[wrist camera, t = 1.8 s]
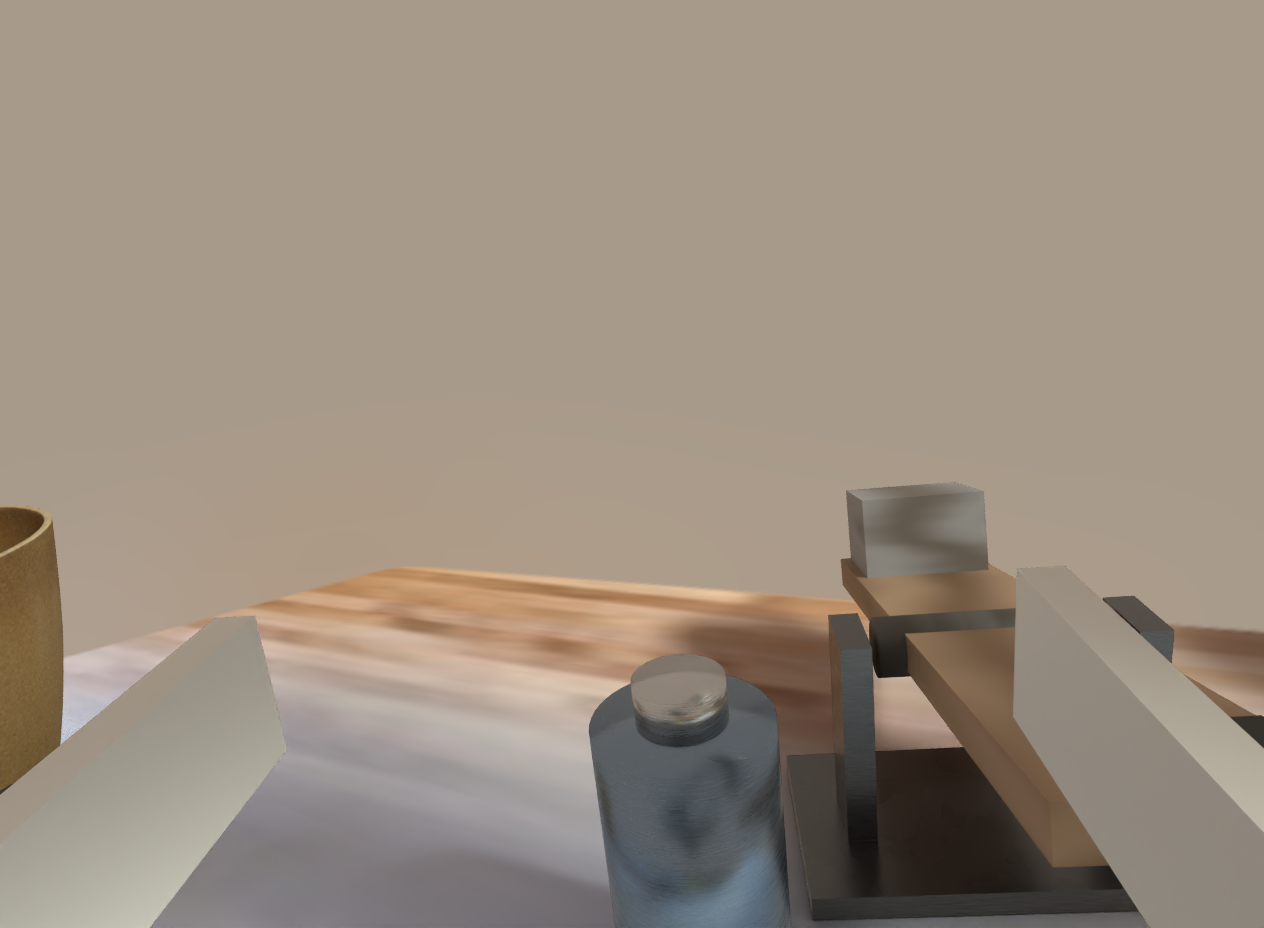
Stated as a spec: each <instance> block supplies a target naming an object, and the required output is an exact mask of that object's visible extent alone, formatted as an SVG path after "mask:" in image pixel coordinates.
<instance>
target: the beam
mask: <svg viewBox="0 0 1264 928" xmlns="http://www.w3.org/2000/svg"><path fill="white" fill-rule="evenodd" d="M846 495H847V509H848V522H849V537H850V551H851V558H849V559H841V568H842V580H843V586H844V587H845V588H846V590H847V591H848V592H849V594H850V595H851V596H852V598H853V599H854V601H855V602H856V603H857V605H858V606H859V607H860V609H861V610H862V611H863V613H864V614H865V615H866V617H867V618H868V619H869V621H870V623H869V639H870V644H871V647H872V661H873V666H874V670H875V673H876V675H877V677H878V678H887V677H905V676H911V677H912V678H913V680H914V681H915V683H916V684H917V685H918V687H919V688H920V689H921V691H922V692H923V693H924V695H925V696H926V697H927V699H928V700H929V701H930V703H931V704H932V705H933V707H934V708H935V709H936V711H937V712H938V713H939V715H940V716H941V717H942V719H943V720H944V721H945V723H946V724H947V726H948V727H949V728H950V730H951V731H952V732H953V734H954V735H955V736H956V738H957V739H958V740H959V742H960V743H961V744H962V746H963V747H964V748H965V750H966V751H967V752H968V754H969V755H970V756H971V758H972V759H973V760H974V762H975V763H976V765H977V766H978V767H979V769H980V770H981V771H982V773H983V774H984V775H985V777H986V778H987V779H988V781H989V782H990V783H991V785H992V786H993V787H994V789H995V790H996V791H997V793H998V794H999V795H1000V797H1001V798H1002V799H1003V801H1004V802H1005V803H1006V805H1007V806H1008V808H1009V809H1010V810H1011V812H1012V813H1013V814H1014V816H1015V817H1016V818H1017V820H1018V821H1019V822H1020V824H1021V825H1022V826H1023V828H1024V829H1025V830H1026V832H1027V833H1028V834H1029V836H1030V837H1031V838H1032V840H1033V841H1034V842H1035V844H1036V845H1037V847H1038V848H1039V849H1040V851H1041V852H1042V853H1043V855H1044V856H1045V857H1046V859H1047V860H1048V861H1049V863H1050V864H1051V865H1052V867H1082V866H1109V864H1108V862H1107V861H1106V859H1105V858H1104V856H1103V855H1102V853H1101V852H1100V850H1099V849H1098V847H1097V846H1096V844H1095V842H1094V841H1093V839H1092V838H1091V836H1090V835H1089V833H1088V832H1087V830H1086V829H1085V827H1084V825H1083V824H1082V822H1081V821H1080V819H1079V818H1078V816H1077V815H1076V813H1075V812H1074V810H1073V808H1072V807H1071V805H1070V804H1069V802H1068V801H1067V799H1066V798H1065V796H1064V795H1063V793H1062V791H1061V790H1060V788H1059V787H1058V785H1057V784H1056V782H1055V781H1054V779H1053V778H1052V776H1051V774H1050V773H1049V771H1048V770H1047V768H1046V767H1045V765H1044V764H1043V762H1042V761H1041V759H1040V758H1039V756H1038V754H1037V753H1036V751H1035V750H1034V748H1033V747H1032V745H1031V744H1030V742H1029V741H1028V739H1027V737H1026V736H1025V734H1024V733H1023V731H1022V730H1021V728H1020V727H1019V725H1018V724H1017V722H1016V720H1015V719H1014V717H1013V700H1014V659H1015V618H1016V579H1015V578H1013V577H1012V576H1010V575H1008V574H1006V573H1005V572H1003V571H1001V570H999V569H997V568H996V567H994V566H992V565H990V564H989V563H988V552H987V536H986V520H985V503H984V491H981V490H978V489H975V488H972V487H969V486H965V485H962V484H959V483H956V482H951V483H937V484H925V485H911V486H899V487H885V488H872V489H859V490H847V491H846ZM1106 604H1107V605H1109V604H1108V603H1106ZM1109 606H1110V605H1109ZM1110 607H1111V606H1110ZM1111 608H1112V607H1111ZM1112 609H1113V608H1112ZM1113 610H1114V609H1113ZM1114 611H1115V610H1114ZM1186 677H1187V676H1186ZM1187 678H1188V679H1189V680H1190V681H1191V682H1192V683H1193V684H1194V685H1195V686H1197V687H1198V688H1199V689H1200V690H1201V691H1202V692H1203V693H1204V694H1205V695H1206V696H1207V697H1208V698H1210V699H1211V700H1212V701H1213V702H1214V703H1215V704H1216V705H1217V706H1218V707H1219V708H1220V709H1222V710H1223V711H1224V712H1225V713H1226V714H1227V715H1228V716H1229V717H1237V716H1256V715H1254V714H1252V713H1250V712H1249V711H1247V710H1245V709H1243V708H1242V707H1240V706H1238V705H1236V704H1235V703H1233V702H1231V701H1229V700H1228V699H1226V698H1224V697H1222V696H1220V695H1219V694H1217V693H1215V692H1213V691H1212V690H1210V689H1208V688H1206V687H1205V686H1203V685H1201V684H1199V683H1198V682H1196V681H1194V680H1192V679H1191V678H1189V677H1187Z"/></svg>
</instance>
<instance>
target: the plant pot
mask: <svg viewBox="0 0 1264 928" xmlns="http://www.w3.org/2000/svg"><path fill="white" fill-rule="evenodd" d="M62 710H63V625H62V612H61V599H60V586H59V577H58V568H57V558H56V549H55V540H54V531H53V523H52V517H51V515H50V513H48V512H47V511H45V510H43V509H40V508H34V507H29V506H17V505H13V506H12V505H1V506H0V790H2V789H4V788H5V787H7V786H9V785H11V784H12V783H14V782H16V781H18V780H19V779H20V778H21V777H22V776H24V775H25V774H26V773H27V772H29V771H30V770H31V769H32V768H33V767H35V766H36V765H37V764H38V763H39V762H41V761H42V760H43V759H44V758H46V757H47V756H48V755H49V754H50V753H52V752H53V751H54V750H55V749H56V748H58V747H59V746H60V741H61V726H62Z"/></svg>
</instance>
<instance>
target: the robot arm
mask: <svg viewBox="0 0 1264 928" xmlns="http://www.w3.org/2000/svg"><path fill="white" fill-rule="evenodd" d="M1013 717H1014V719H1015V720H1016V722H1017V724H1018V725H1019V727H1020V728H1021V730H1022V731H1023V733H1024V734H1025V736H1026V737H1027V739H1028V741H1029V742H1030V744H1031V745H1032V747H1033V748H1034V750H1035V751H1036V753H1037V754H1038V756H1039V758H1040V759H1041V761H1042V762H1043V764H1044V765H1045V767H1046V768H1047V770H1048V771H1049V773H1050V774H1051V776H1052V778H1053V779H1054V781H1055V782H1056V784H1057V785H1058V787H1059V788H1060V790H1061V791H1062V793H1063V795H1064V796H1065V798H1066V799H1067V801H1068V802H1069V804H1070V805H1071V807H1072V808H1073V810H1074V812H1075V813H1076V815H1077V816H1078V818H1079V819H1080V821H1081V822H1082V824H1083V825H1084V827H1085V829H1086V830H1087V832H1088V833H1089V835H1090V836H1091V838H1092V839H1093V841H1094V842H1095V844H1096V846H1097V847H1098V849H1099V850H1100V852H1101V853H1102V855H1103V856H1104V858H1105V859H1106V861H1107V862H1108V864H1109V866H1110V867H1111V869H1112V870H1113V872H1114V873H1115V875H1116V876H1117V878H1118V879H1119V881H1120V883H1121V884H1122V886H1123V887H1124V889H1125V890H1126V892H1127V893H1128V895H1129V896H1130V898H1131V900H1132V901H1133V903H1134V904H1135V906H1136V907H1137V909H1138V910H1139V912H1140V913H1141V915H1142V917H1143V918H1144V920H1145V921H1146V923H1147V924H1148V926H1149V927H1150V928H1264V717H1263V716H1261V715H1259V716H1237V717H1229V716H1228V715H1227V714H1226V713H1225V712H1224V711H1223V710H1222V709H1220V708H1219V707H1218V706H1217V705H1216V704H1215V703H1214V702H1213V701H1212V700H1211V699H1210V698H1208V697H1207V696H1206V695H1205V694H1204V693H1203V692H1202V691H1201V690H1200V689H1199V688H1198V687H1197V686H1195V685H1194V684H1193V683H1192V682H1191V681H1190V680H1189V679H1188V678H1187V677H1186V676H1185V675H1184V674H1182V673H1181V672H1180V671H1179V670H1178V669H1177V668H1176V667H1175V666H1174V665H1173V664H1172V663H1170V662H1169V661H1168V660H1167V659H1166V658H1165V657H1164V656H1163V655H1162V654H1161V653H1160V652H1159V651H1157V650H1156V649H1155V648H1154V647H1153V646H1152V645H1151V644H1150V643H1149V642H1148V641H1147V640H1145V639H1144V638H1143V637H1142V636H1141V635H1140V634H1139V633H1138V632H1137V631H1136V630H1135V629H1134V628H1132V627H1131V626H1130V625H1129V624H1128V623H1127V622H1126V621H1125V620H1124V619H1123V618H1122V617H1120V616H1119V615H1118V614H1117V613H1116V612H1115V611H1114V610H1113V609H1112V608H1111V607H1110V606H1109V605H1107V604H1106V603H1105V602H1104V601H1103V600H1102V599H1101V598H1100V597H1098V595H1096V594H1095V593H1094V592H1093V591H1092V590H1091V589H1090V588H1089V587H1088V586H1087V585H1085V583H1084V582H1082V581H1081V580H1080V579H1079V578H1078V577H1077V576H1076V575H1075V574H1074V573H1073V572H1072V571H1071V570H1069V569H1068V568H1067V567H1066V566H1054V567H1037V568H1020V569H1017V579H1016V618H1015V659H1014V700H1013ZM286 751H287V747H286V743H285V739H284V735H283V731H282V726H281V722H280V718H279V714H278V709H277V705H276V701H275V697H274V693H273V688H272V684H271V680H270V676H269V672H268V667H267V663H266V659H265V655H264V650H263V646H262V642H261V638H260V634H259V629H258V625H257V621H256V617H255V616H243V617H226V618H214V619H213V620H212V621H211V622H209V623H208V624H207V625H206V626H205V627H203V628H202V629H201V630H200V631H199V632H197V633H196V634H195V635H194V636H192V637H191V638H190V639H189V640H188V641H186V642H185V643H184V644H183V645H182V646H180V647H179V648H178V649H177V650H175V651H174V652H173V653H172V654H171V655H169V656H168V657H167V658H166V659H165V660H163V661H162V662H161V663H160V664H158V665H157V666H156V667H155V668H154V669H152V670H151V671H150V672H149V673H148V674H146V675H145V676H144V677H143V678H141V679H140V680H139V681H138V682H137V683H135V684H134V685H133V686H132V687H131V688H129V689H128V690H127V691H126V692H124V693H123V694H122V695H121V696H120V697H118V698H117V699H116V700H115V701H114V702H112V703H111V704H110V705H109V706H107V707H106V708H105V709H104V710H103V711H101V712H100V713H99V714H98V715H97V716H95V717H94V718H93V719H92V720H90V721H89V722H88V723H87V724H86V725H84V726H83V727H82V728H81V729H80V730H78V731H77V732H76V733H75V734H73V735H72V736H71V737H70V738H69V739H67V740H66V741H65V742H64V743H63V744H61V745H60V746H59V747H58V748H56V749H55V750H54V751H53V752H52V753H50V754H49V755H48V756H47V757H46V758H44V759H43V760H42V761H41V762H39V763H38V764H37V765H36V766H35V767H33V768H32V769H31V770H30V771H29V772H27V773H26V774H25V775H24V776H22V777H21V778H20V779H19V780H18V781H16V782H14V783H12V784H11V785H9V786H7V787H5V788H4V789H2V790H0V928H150V927H151V926H152V924H153V923H154V922H155V920H156V919H157V918H158V916H159V915H160V914H161V913H162V911H163V910H164V909H165V907H166V906H167V905H168V904H169V902H170V901H171V900H172V898H173V897H174V896H175V894H176V893H177V892H178V891H179V889H180V888H181V887H182V885H183V884H184V883H185V882H186V880H187V879H188V878H189V876H190V875H191V874H192V872H193V871H194V870H195V869H196V867H197V866H198V865H199V863H200V862H201V861H202V860H203V858H204V857H205V856H206V854H207V853H208V852H209V850H210V849H211V848H212V847H213V845H214V844H215V843H216V841H217V840H218V839H219V838H220V836H221V835H222V834H223V832H224V831H225V830H226V828H227V827H228V826H229V825H230V823H231V822H232V821H233V819H234V818H235V817H236V816H237V814H238V813H239V812H240V810H241V809H242V808H243V806H244V805H245V804H246V803H247V801H248V800H249V799H250V797H251V796H252V795H253V794H254V792H255V791H256V790H257V788H258V787H259V786H260V784H261V783H262V782H263V781H264V779H265V778H266V777H267V775H268V774H269V773H270V772H271V770H272V769H273V768H274V766H275V765H276V764H277V762H278V761H279V760H280V759H281V757H282V756H283V755H284V753H285V752H286Z"/></svg>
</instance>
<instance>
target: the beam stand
mask: <svg viewBox="0 0 1264 928" xmlns="http://www.w3.org/2000/svg"><path fill="white" fill-rule="evenodd" d="M1103 601H1104V602H1105V603H1108V604H1109V605H1110V606H1111V607H1112V608H1113V609H1114V610H1115V612H1116V613H1117V614H1118V615H1119V616H1120V617H1122V618H1123V619H1124V620H1125V621H1126V622H1127V623H1128V624H1129V625H1130V626H1131V627H1132V628H1134V629H1135V630H1136V631H1137V632H1138V633H1139V634H1140V635H1141V636H1142V637H1143V638H1144V639H1145V640H1147V641H1148V642H1149V643H1150V644H1151V645H1152V646H1153V647H1154V648H1155V649H1156V650H1157V651H1159V652H1160V653H1161V654H1162V655H1163V656H1164V657H1165V658H1166V659H1167V660H1168V661H1169V662H1170V663H1172V653H1173V640H1174V630H1173V629H1172V628H1171V627H1170V626H1169V625H1168V624H1166V623H1165V622H1164V621H1163V620H1162V619H1160V618H1159V617H1158V616H1157V615H1156V614H1155V613H1153V612H1152V611H1151V610H1150V609H1149V608H1147V607H1146V606H1145V605H1144V604H1143V603H1142V602H1140V601H1139V600H1138V599H1137V598H1136V597H1135V596H1123V597H1108V598H1103ZM828 620H829V642H830V664H831V685H832V707H833V729H834V751H835V753H832V754H811V755H790V756H786V757H787V773H788V779H789V785H790V791H791V797H792V802H793V808H794V814H795V820H796V826H797V832H798V838H799V843H800V849H801V855H802V861H803V867H804V873H805V879H806V884H807V890H808V896H809V902H810V908H811V914H812V920H845V919H879V918H913V917H947V916H981V915H1015V914H1049V913H1083V912H1117V911H1139V910H1138V909H1137V907H1136V906H1135V904H1134V903H1133V901H1132V900H1131V898H1130V896H1129V895H1128V893H1127V892H1126V890H1125V889H1124V887H1123V886H1122V884H1121V883H1120V881H1119V879H1118V878H1117V876H1116V875H1115V873H1114V872H1113V870H1112V869H1111V867H1110V866H1082V867H1052V865H1051V864H1050V863H1049V861H1048V860H1047V859H1046V857H1045V856H1044V855H1043V853H1042V852H1041V851H1040V849H1039V848H1038V847H1037V845H1036V844H1035V842H1034V841H1033V840H1032V838H1031V837H1030V836H1029V834H1028V833H1027V832H1026V830H1025V829H1024V828H1023V826H1022V825H1021V824H1020V822H1019V821H1018V820H1017V818H1016V817H1015V816H1014V814H1013V813H1012V812H1011V810H1010V809H1009V808H1008V806H1007V805H1006V803H1005V802H1004V801H1003V799H1002V798H1001V797H1000V795H999V794H998V793H997V791H996V790H995V789H994V787H993V786H992V785H991V783H990V782H989V781H988V779H987V778H986V777H985V775H984V774H983V773H982V771H981V770H980V769H979V767H978V766H977V765H976V763H975V762H974V760H973V759H972V758H971V756H970V755H969V754H968V752H967V751H966V750H965V748H964V747H958V748H937V749H916V750H895V751H875V728H874V696H873V663H872V647H871V644H870V642H869V640H868V637H867V635H866V632H865V630H864V628H863V625H862V623H861V621H860V618H859V616H858V613H854V614H838V615H828Z"/></svg>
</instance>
